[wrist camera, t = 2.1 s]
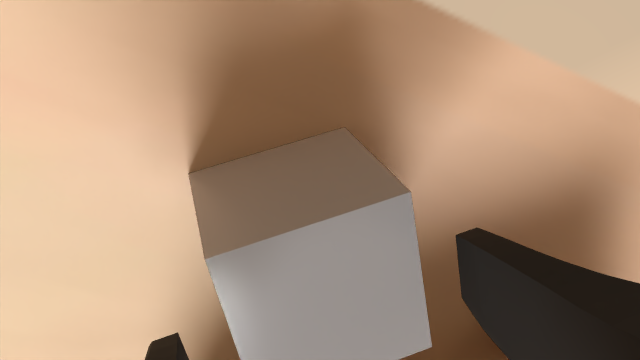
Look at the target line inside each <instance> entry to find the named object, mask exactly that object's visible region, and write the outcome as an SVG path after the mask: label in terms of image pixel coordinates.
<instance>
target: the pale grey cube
mask: <svg viewBox="0 0 640 360" xmlns="http://www.w3.org/2000/svg"><path fill="white" fill-rule="evenodd" d="M189 179H190V185H191V190H192V195H193V200H194V206H195V211H196V216H197V221H198V227H199V232H200V237H201V242H202V247H203V253H204V258H205V261H206V264H207V267H208V270H209V273H210V275H211V278H212V281H213V284H214V287H215V290H216V292H217V295H218V298H219V301H220V304H221V306H222V309H223V312H224V315H225V318H226V321H227V323H228V326H229V329H230V332H231V335H232V337H233V340H234V343H235V346H236V349H237V352H238V354H239V357H240V360H399V359H402V358H404V357H407V356H409V355H412V354H415V353H417V352H420V351H423V350H425V349H428V348H430V347H432V343H431V336H430V328H429V321H428V314H427V306H426V299H425V292H424V284H423V277H422V270H421V262H420V255H419V248H418V240H417V233H416V226H415V218H414V211H413V203H412V196H411V191H410V190H408V189H407V188H406V187H405V186H404V185H403V184H402V183H401V182H400V181H399V180H398V179H397V178H396V177H395V176H394V175H393V174H392V173H391V172H390V171H389V170H388V169H387V168H386V167H385V166H384V165H383V164H382V163H381V162H380V161H379V160H378V159H377V158H376V157H375V156H374V155H373V154H372V153H371V152H370V151H368V150H367V149H366V148H365V147H364V146H363V145H362V144H361V143H360V142H359V141H358V140H357V139H356V138H355V137H354V136H353V135H352V134H351V133H350V132H349V131H348V130H347V129H346V128H345V127H343V128H340V129H336V130H333V131H330V132H326V133H323V134H320V135H316V136H313V137H310V138H306V139H303V140H300V141H296V142H293V143H289V144H286V145H283V146H279V147H276V148H273V149H269V150H266V151H263V152H259V153H256V154H253V155H249V156H246V157H243V158H239V159H236V160H232V161H229V162H226V163H222V164H219V165H216V166H212V167H209V168H206V169H202V170H199V171H196V172H192V173H189Z"/></svg>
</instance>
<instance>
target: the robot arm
mask: <svg viewBox="0 0 640 360" xmlns="http://www.w3.org/2000/svg"><path fill="white" fill-rule="evenodd" d="M456 244H457V254H458V264H459V274H460V284H461V294H462V299H463V300H464V302H465V303H466V305H467V306H468V308H469V309H470V311H471V312H472V314H473V315H474V317H475V318H476V320H477V321H478V323H479V324H480V326H481V327H482V328H483V330H484V331H485V332H486V333H487V334H488V336H489V337H490V338H491V339H492V340H493V341H494V343H495V344H496V345H497V346H498V347H499V348H500V349H501V351H502V352H503V353H504V354H505V355H506V356H507V357H508V358H509V360H640V284H639V283H635V282H631V281H627V280H623V279H620V278H616V277H612V276H608V275H605V274H601V273H598V272H594V271H591V270H588V269H585V268H582V267H579V266H576V265H573V264H570V263H567V262H564V261H562V260H559V259H556V258H553V257H551V256H548V255H545V254H543V253H540V252H538V251H535V250H532V249H530V248H527V247H525V246H522V245H520V244H518V243H515V242H513V241H510V240H508V239H505V238H503V237H500V236H498V235H495V234H493V233H490V232H488V231H485V230H482V229H480V228H475V229H472V230H469V231H466V232H463V233H460V234H457V235H456ZM145 360H189V358H188V356H187V354H186V351H185V349H184V346H183V344H182V342H181V339H180V337H179V334H178V333H175V334H172V335H169V336H167V337H164V338H161V339H158V340H155V341H152V342H151V344H150V346H149V348H148V351H147V354H146V358H145Z"/></svg>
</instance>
